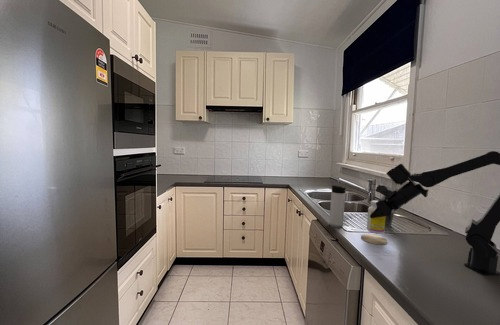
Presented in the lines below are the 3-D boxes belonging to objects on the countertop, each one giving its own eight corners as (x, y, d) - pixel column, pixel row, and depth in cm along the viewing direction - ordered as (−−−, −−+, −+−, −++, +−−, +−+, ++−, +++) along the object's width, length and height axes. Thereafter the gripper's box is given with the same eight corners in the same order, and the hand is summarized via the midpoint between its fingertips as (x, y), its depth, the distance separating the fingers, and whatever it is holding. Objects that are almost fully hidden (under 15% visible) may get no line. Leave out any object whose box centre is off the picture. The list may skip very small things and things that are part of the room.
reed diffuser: (379, 226, 121) (383, 186, 120) (376, 221, 128) (379, 184, 126) (396, 228, 119) (399, 187, 117) (392, 223, 126) (395, 185, 124)
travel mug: (326, 224, 121) (328, 184, 120) (336, 222, 124) (338, 183, 122) (335, 228, 116) (338, 186, 114) (345, 227, 118) (348, 186, 117)
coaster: (393, 244, 100) (393, 243, 100) (369, 244, 99) (369, 243, 98) (377, 235, 110) (377, 233, 109) (356, 235, 108) (356, 233, 108)
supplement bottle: (387, 234, 100) (390, 203, 99) (372, 234, 100) (374, 203, 99) (378, 228, 107) (380, 199, 106) (363, 228, 107) (365, 199, 105)
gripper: (395, 175, 106) (367, 196, 114) (383, 180, 92) (351, 203, 100) (416, 197, 101) (384, 217, 109) (406, 204, 87) (371, 226, 96)
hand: (373, 215), depth 104 cm, fingers closed on supplement bottle, 7 cm apart
